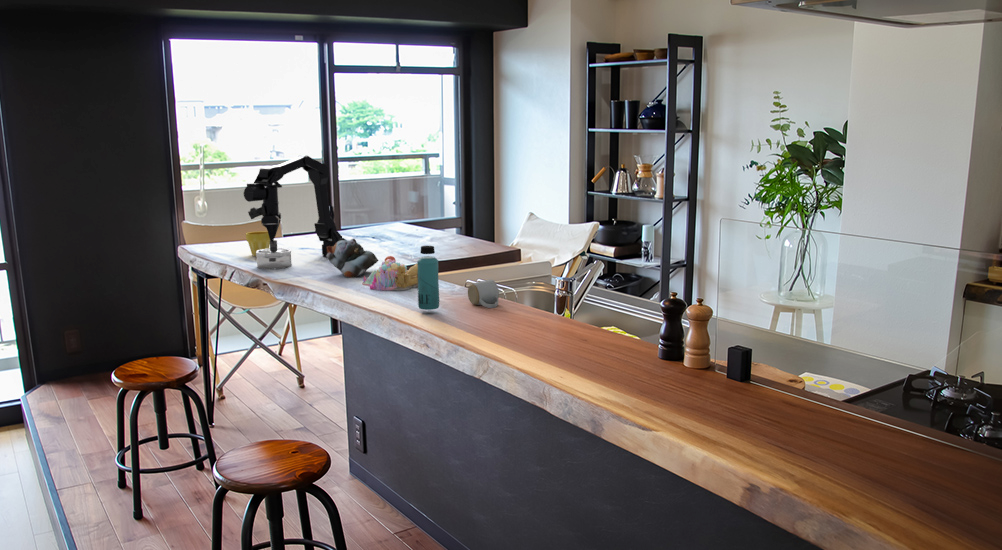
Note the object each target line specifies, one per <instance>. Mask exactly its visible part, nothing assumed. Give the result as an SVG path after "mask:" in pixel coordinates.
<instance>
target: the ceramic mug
mask: <svg viewBox="0 0 1002 550" xmlns="http://www.w3.org/2000/svg"><path fill="white" fill-rule="evenodd" d="M499 289H500V288H499V287H498V284H497V282H496V281H495V280H494V279H491V278H490V279H487V280H481V281H478V282H473V283H471V284H470V285H469V286H468V288H467V297H468V300H469V302H470V303H471V304H472V305H474V306H483V307H484V308H487V309H493V308H494V309H495V308H497V307H498V304H499V298H500V297H499V296H500V290H499Z"/></svg>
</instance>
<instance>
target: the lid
mask: <svg viewBox="0 0 1002 550" xmlns="http://www.w3.org/2000/svg"><path fill="white" fill-rule="evenodd" d="M269 248H270V249H267V250H262V251H261V253H281V252H286V250H285V249H277V248H278V240H276V239H274V240H273V241H270V245H269Z"/></svg>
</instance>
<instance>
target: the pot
mask: <svg viewBox="0 0 1002 550" xmlns="http://www.w3.org/2000/svg"><path fill="white" fill-rule="evenodd" d="M268 249H270V247H269V248H268ZM277 249H285V250H286V252H281V253H261V251H262V250H267V249H262V250H257V251H256V256H255V257H256V263H257V264H256V267H257V268H258V269H262V270H281V269H285V268H290V267H292V266H293V265H292V249H291V248H284V247H279V248H278V247H277Z"/></svg>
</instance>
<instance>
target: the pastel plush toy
mask: <svg viewBox="0 0 1002 550" xmlns="http://www.w3.org/2000/svg"><path fill="white" fill-rule="evenodd" d="M417 273H418V263H415V264H414V265H413V266H410V267H409V269H408V267H407V265H406V264H403V263H401V262H397V261H396V258H395V257H394V256H392V255H388V256H386V257H385V259H384V261H382V263H381V266H379V268H378V269H374V270H372V272H371V273H370V274H369V276H368V277H367V278H366V276H365V275H364V276H363V278H362V282H361V284H362V285H363V286H368V287H369V289H370V290H377V291H385V292H387V291H404V290H409V289H412V288H418V282H417V281H418V280H417V279H418V278H417V277H418V274H417Z"/></svg>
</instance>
